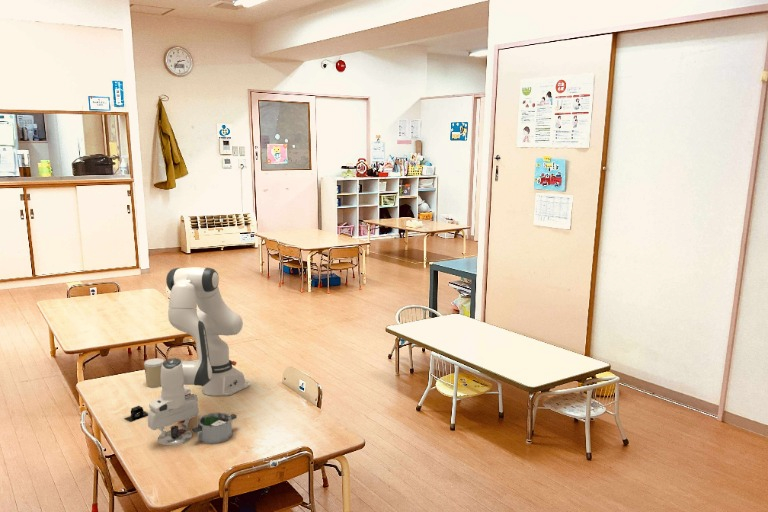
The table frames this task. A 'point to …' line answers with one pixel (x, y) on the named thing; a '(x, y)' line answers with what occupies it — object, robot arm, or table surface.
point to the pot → (214, 428)
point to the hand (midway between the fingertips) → (174, 432)
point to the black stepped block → (134, 414)
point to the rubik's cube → (218, 423)
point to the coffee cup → (153, 372)
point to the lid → (175, 436)
